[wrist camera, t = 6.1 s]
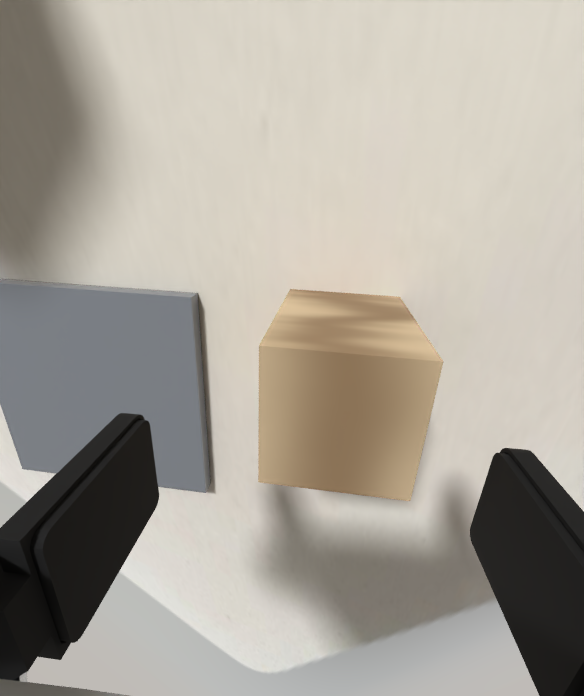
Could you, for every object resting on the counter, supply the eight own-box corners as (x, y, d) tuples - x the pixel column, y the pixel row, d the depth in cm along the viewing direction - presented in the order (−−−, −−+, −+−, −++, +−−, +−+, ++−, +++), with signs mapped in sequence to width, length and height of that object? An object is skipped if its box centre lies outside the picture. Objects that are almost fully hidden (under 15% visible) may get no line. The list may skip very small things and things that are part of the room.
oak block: (399, 296, 16) (443, 361, 9) (383, 392, 17) (410, 501, 11) (290, 288, 16) (259, 345, 10) (286, 383, 18) (258, 482, 12)
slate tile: (197, 293, 17) (191, 297, 16) (210, 482, 21) (205, 492, 21) (-27, 276, 18) (-42, 280, 17) (33, 460, 22) (22, 469, 22)
